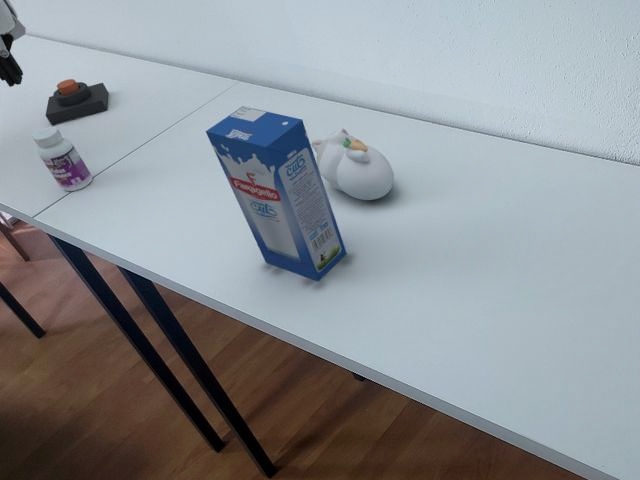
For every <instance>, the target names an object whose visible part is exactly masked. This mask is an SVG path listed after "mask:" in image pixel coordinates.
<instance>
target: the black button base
mask: <svg viewBox="0 0 640 480" xmlns="http://www.w3.org/2000/svg"><path fill="white" fill-rule="evenodd" d="M76 83H77V85H78V86H79V88H80V89H79V90H77V91H76V92H73V93H71V94H67V95H62V94H61V93H60V91H59V89H58V88H56V90H55V91H54V92H53V94H52V95H51V96H48V101H47V105H46V111H45V117H46V119H47V120H48V122H49V123H50V125H51V126H54V125H58V124H62V123H65V122H70V121H73V120H76V119H80V118H83V117H87V116H90V115H95V114H98V113H102V112H105V111H108V105H109V91H108V89H107V88H106V85H105V84H104V82H99V83H96V84H92V85H88V84H87V83H86V82H83V81H79V82H77V81H76Z"/></svg>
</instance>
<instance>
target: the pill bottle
mask: <svg viewBox="0 0 640 480" xmlns="http://www.w3.org/2000/svg"><path fill="white" fill-rule="evenodd" d="M32 139H33V141H34V143H35V144H36V145H37V146H38V149H37V154H38V156H39V158H40V160H42V163H44V165H45V167H46V168H47V169H48V170H49V172H50V174H51V175H52V177H53V178H54V179H55V181H56V182H57V184H58V185H59V187H60V188H61V189H62V190H63V191H66V192H75V191H79V190H81V189H84V188H85V187H86V188H87V186H89V185H90V184H91V183H92V181H93V175H92V173H91V171H90V169H89V168H88V166H87V165H86V163H85V162H84V160H83V158H82V156H81V155H80V154H79V152H78V151H77V149H76V148H75V145H74V144H73V143H72V141H71V140H70V139H68V138H66V137H63V135H62V133H61V132H60V129H58V127H56V126H47V127H44V128H41V129H38V130H37V131H35V132H34V133H33V134H32Z"/></svg>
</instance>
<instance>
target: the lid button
mask: <svg viewBox="0 0 640 480" xmlns="http://www.w3.org/2000/svg"><path fill="white" fill-rule="evenodd" d="M76 82H77V81H76V80H75V79H73V78H69V79H65V80H62V81H60V82H59V83H58V84H56V89H59V91H60V93H61V94H62V95H67V94H71V93H73V92H76V91H77V90H79V89H80V88H79V86H78V85H77V83H76Z"/></svg>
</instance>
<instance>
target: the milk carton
mask: <svg viewBox="0 0 640 480" xmlns="http://www.w3.org/2000/svg"><path fill="white" fill-rule="evenodd" d="M303 120H304V119H302V118H298V117H294V116H293V117H292V116H289V115H285V114H281V113H280V114H279V113H276V112H271V111H267V110H262V109H258V108H254V107H253V108H252V107H249V106H244V105H242V106H241V107H239V108H238V109H237V110H235V111H234V112H232V113H231V114H229V115H227V116H226V117H225V118H223V119H222V120H220V121H218V122H217V123H216V124H214V125H213V126H211V127H209V128H208V129H207V130H206V131H205V133H206V136H207V138H208V140H209V142H210V144H211V146H212V148H213V151H214V152H215V155H216V157H217V159H218V163H219V164H220V167H221V168H222V170H223V173H224V175H225V177H226V179H227V182H228V184H229V186H230V188H231V190H232V192H233V194H234V196H235V199H236V201H237V203H238V205H239V208H240V210H241V212H242V215H243V217H244V219H245V221H246V223H247V225H248V227H249V229H250V231H251V234H252V237H253V238H254V240H255V242H256V245H257V247H258V249H259V251H260V253H261V255H262V257H263V260H264V262H265V263H266V264H269V265H272V266H274V267H277V268H280V269H283V270H285V271H288V272H291V273H294V274H296V275H299V276H302V277H305V278H307V279H310V280H313V281H315V282H319V281H320V280H322V279H323V278H324V276H326V275H327V274H328V273H329V272H330V271H331V270H332V269H333V268H334V267H335V266H336V265H337V264H338V263H339V262H340V261H341V260H342V259H343V258H345V256H346V255H348V253H347V250H346V247H345V243H344V241H343V238H342V234H341V232H340V229H339V226H338V223H337V220H336V217H335V214H334V211H333V208H332V206H331V202H330V199H329V196H328V193H327V189H326V187H325V184H324V180H323V177H322V176H321V174H320V172H319V169H318V166H317V159H316V157H315V154H314V151H313V147H312V145H311V142H310V139H309V136H308V132H307V130H306V127H305V124H304V121H303Z"/></svg>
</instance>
